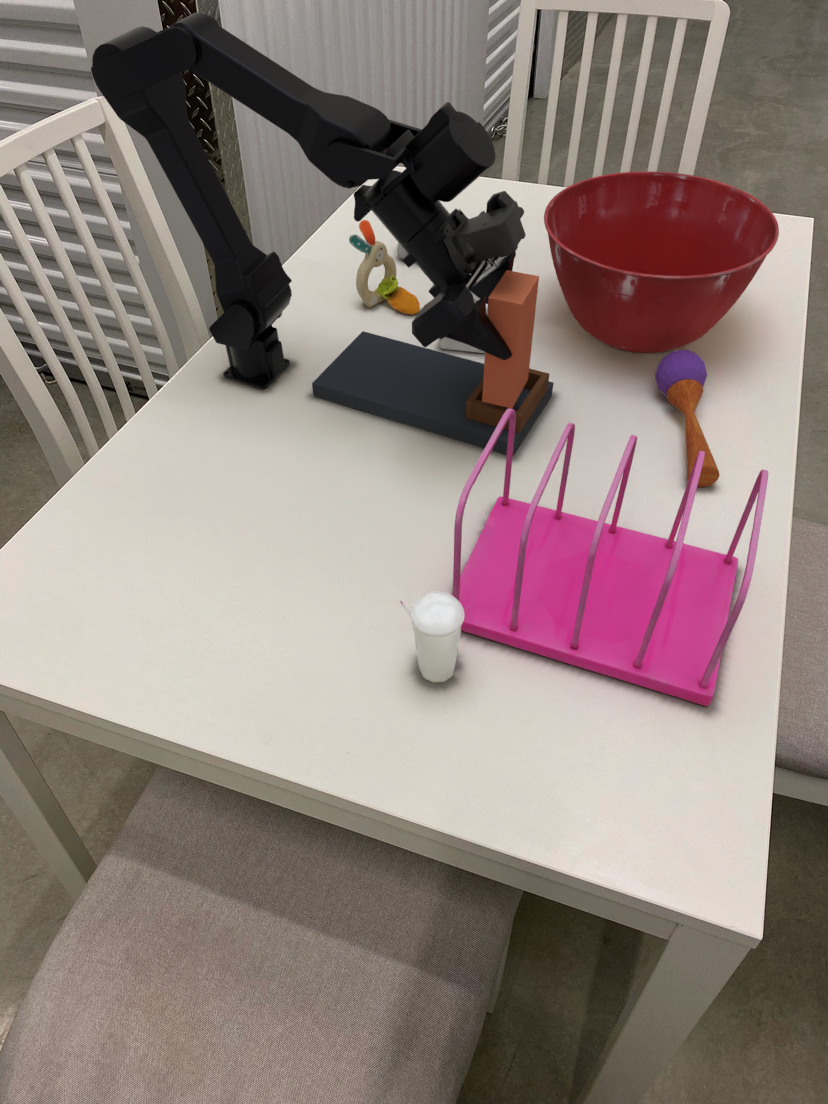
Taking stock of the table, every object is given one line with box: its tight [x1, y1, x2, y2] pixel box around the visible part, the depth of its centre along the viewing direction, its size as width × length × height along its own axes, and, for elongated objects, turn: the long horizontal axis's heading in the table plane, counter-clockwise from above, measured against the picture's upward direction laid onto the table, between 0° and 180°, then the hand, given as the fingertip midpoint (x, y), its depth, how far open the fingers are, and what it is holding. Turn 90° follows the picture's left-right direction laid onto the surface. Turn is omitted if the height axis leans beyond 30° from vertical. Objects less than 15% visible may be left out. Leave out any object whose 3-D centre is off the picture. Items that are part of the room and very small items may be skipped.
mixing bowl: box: [543, 170, 780, 355], centre depth 107 cm, size 28×28×16 cm
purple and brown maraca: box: [654, 349, 720, 488], centre depth 95 cm, size 6×6×20 cm
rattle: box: [348, 219, 421, 316], centre depth 113 cm, size 8×8×12 cm
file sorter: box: [451, 408, 769, 707], centre depth 74 cm, size 17×25×16 cm
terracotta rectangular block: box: [482, 270, 540, 409], centre depth 89 cm, size 4×6×13 cm, turn 158°
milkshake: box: [399, 590, 465, 684], centre depth 71 cm, size 4×5×10 cm
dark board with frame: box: [311, 330, 554, 457], centre depth 101 cm, size 27×13×4 cm, turn 63°
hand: (517, 342), depth 88 cm, fingers closed on terracotta rectangular block, 6 cm apart
